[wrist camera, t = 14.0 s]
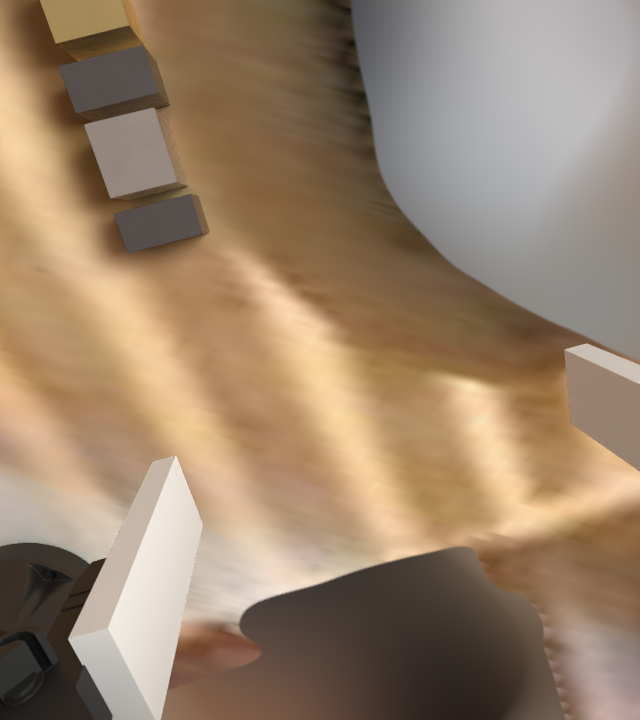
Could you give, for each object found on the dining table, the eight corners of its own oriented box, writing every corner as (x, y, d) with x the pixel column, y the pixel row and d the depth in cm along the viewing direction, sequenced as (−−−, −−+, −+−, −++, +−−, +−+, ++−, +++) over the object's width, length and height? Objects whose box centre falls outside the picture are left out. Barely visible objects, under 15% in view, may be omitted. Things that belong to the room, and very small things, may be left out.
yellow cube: (57, -10, 34) (22, -46, 30) (123, -27, 34) (100, -66, 30) (84, 66, 36) (55, 43, 31) (147, 50, 36) (129, 25, 31)
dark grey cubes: (141, 249, 40) (127, 253, 36) (23, -76, 33) (-9, -114, 29) (209, 232, 40) (203, 233, 36) (107, -96, 33) (86, -136, 29)
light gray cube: (129, 200, 39) (110, 198, 34) (107, 135, 37) (83, 124, 33) (188, 185, 39) (177, 181, 34) (168, 120, 37) (153, 107, 33)
